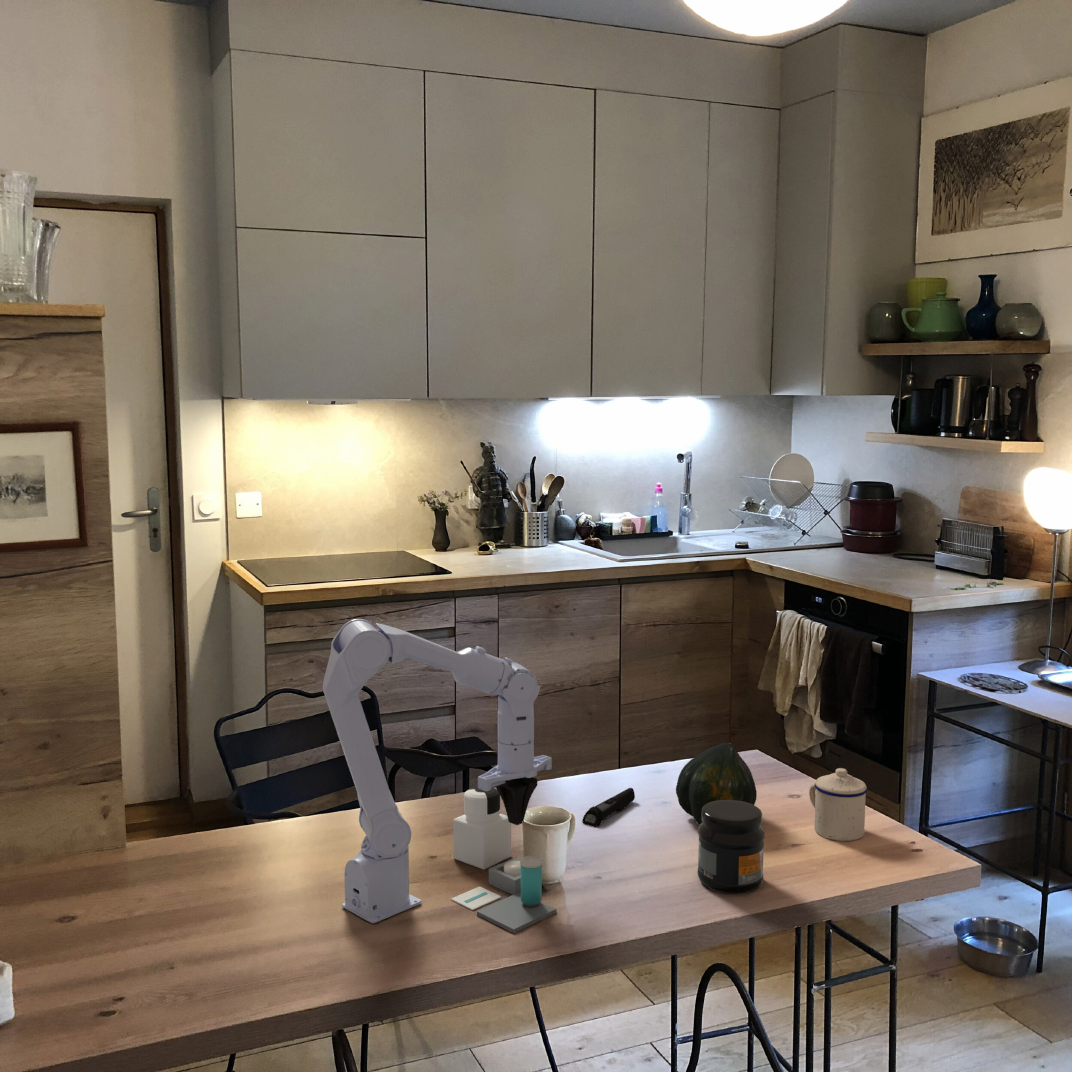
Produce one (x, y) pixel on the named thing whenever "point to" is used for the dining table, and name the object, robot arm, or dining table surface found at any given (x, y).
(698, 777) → the squash
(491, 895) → the card
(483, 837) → the medicine bottle
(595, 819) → the electric trimmer
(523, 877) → the marker
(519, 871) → the button
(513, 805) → the robot arm
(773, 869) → the dining table surface
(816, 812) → the teacup with lid
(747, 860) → the supplement container
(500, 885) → the button box
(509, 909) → the board
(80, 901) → the dining table surface
